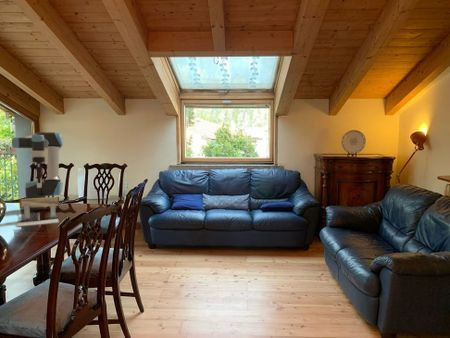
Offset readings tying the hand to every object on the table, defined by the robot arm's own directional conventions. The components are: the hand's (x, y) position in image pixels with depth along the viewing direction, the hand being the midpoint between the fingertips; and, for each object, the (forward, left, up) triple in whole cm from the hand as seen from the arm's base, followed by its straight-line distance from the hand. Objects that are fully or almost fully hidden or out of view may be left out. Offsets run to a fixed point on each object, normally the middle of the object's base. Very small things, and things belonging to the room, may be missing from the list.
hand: (39, 186), depth 220 cm
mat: (+13, -1, -24) cm, 27 cm away
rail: (0, 0, -15) cm, 15 cm away
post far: (0, +8, -24) cm, 25 cm away
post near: (0, -8, -24) cm, 25 cm away
